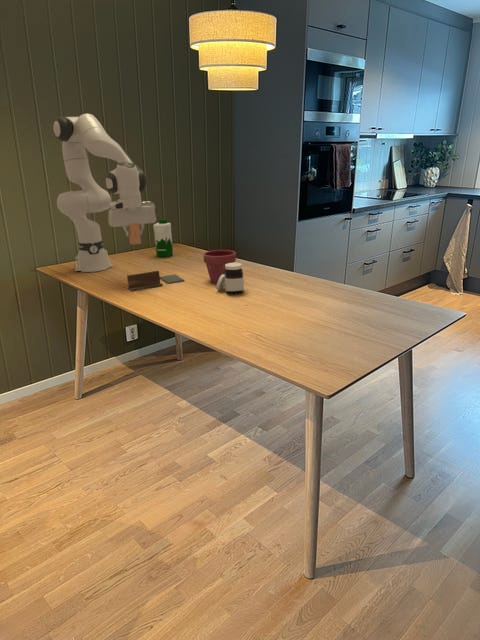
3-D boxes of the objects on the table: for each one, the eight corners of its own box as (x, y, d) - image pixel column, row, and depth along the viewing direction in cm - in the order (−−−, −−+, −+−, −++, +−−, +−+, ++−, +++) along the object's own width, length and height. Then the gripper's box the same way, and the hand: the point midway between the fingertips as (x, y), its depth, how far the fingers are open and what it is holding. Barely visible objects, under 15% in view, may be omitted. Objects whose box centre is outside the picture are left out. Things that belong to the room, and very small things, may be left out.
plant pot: (226, 274, 221) (225, 247, 216) (242, 281, 210) (241, 252, 205) (199, 280, 214) (197, 252, 209) (215, 287, 202) (213, 257, 198)
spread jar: (244, 295, 190) (243, 267, 186) (216, 296, 190) (215, 268, 186) (242, 286, 202) (241, 260, 198) (216, 288, 201) (214, 261, 197)
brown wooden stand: (128, 288, 205) (126, 275, 203) (159, 283, 211) (157, 270, 209) (131, 291, 201) (129, 277, 199) (162, 286, 207) (161, 272, 205)
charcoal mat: (159, 278, 220) (158, 276, 220) (175, 275, 223) (175, 274, 223) (167, 284, 210) (167, 282, 210) (184, 281, 213) (184, 279, 213)
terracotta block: (129, 243, 208) (127, 222, 204) (138, 242, 209) (136, 221, 206) (132, 244, 204) (129, 223, 201) (141, 243, 206) (139, 223, 203)
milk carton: (174, 254, 267) (171, 218, 260) (169, 258, 258) (166, 221, 251) (159, 254, 268) (156, 218, 261) (154, 258, 260) (150, 221, 253)
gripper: (152, 200, 208) (155, 231, 213) (105, 204, 199) (109, 236, 204) (156, 201, 202) (159, 233, 207) (109, 205, 194) (113, 239, 199)
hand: (134, 235), depth 205 cm, fingers closed on terracotta block, 4 cm apart
